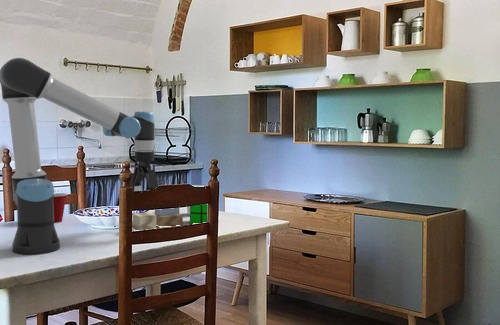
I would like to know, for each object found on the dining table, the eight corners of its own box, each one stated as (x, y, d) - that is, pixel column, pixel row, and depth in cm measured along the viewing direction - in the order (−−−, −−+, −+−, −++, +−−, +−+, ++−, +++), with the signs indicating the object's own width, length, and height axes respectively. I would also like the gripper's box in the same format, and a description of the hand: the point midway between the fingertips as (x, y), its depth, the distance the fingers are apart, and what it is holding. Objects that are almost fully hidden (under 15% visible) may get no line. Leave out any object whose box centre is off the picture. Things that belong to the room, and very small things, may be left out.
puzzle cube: (216, 220, 245) (217, 198, 244) (213, 225, 235) (213, 202, 234) (194, 220, 246) (194, 197, 245) (189, 224, 236) (189, 201, 235)
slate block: (159, 215, 229) (160, 206, 229) (154, 213, 233) (154, 204, 233) (179, 213, 234) (179, 204, 234) (173, 212, 238) (173, 202, 238)
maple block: (139, 234, 216) (139, 216, 215) (132, 230, 222) (132, 213, 221) (156, 232, 220) (156, 214, 219) (149, 229, 226) (149, 212, 225)
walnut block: (160, 229, 227) (160, 217, 226) (150, 224, 235) (150, 213, 235) (182, 226, 233) (182, 214, 232) (171, 222, 241) (171, 211, 240)
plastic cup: (57, 218, 245) (57, 191, 244) (73, 221, 238) (72, 193, 237) (35, 221, 236) (35, 193, 235) (51, 225, 230) (50, 196, 228)
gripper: (167, 152, 210) (167, 208, 212) (140, 148, 230) (140, 199, 232) (148, 153, 205) (148, 210, 207) (123, 149, 226) (123, 201, 228)
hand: (144, 204), depth 220 cm, fingers open, 13 cm apart
